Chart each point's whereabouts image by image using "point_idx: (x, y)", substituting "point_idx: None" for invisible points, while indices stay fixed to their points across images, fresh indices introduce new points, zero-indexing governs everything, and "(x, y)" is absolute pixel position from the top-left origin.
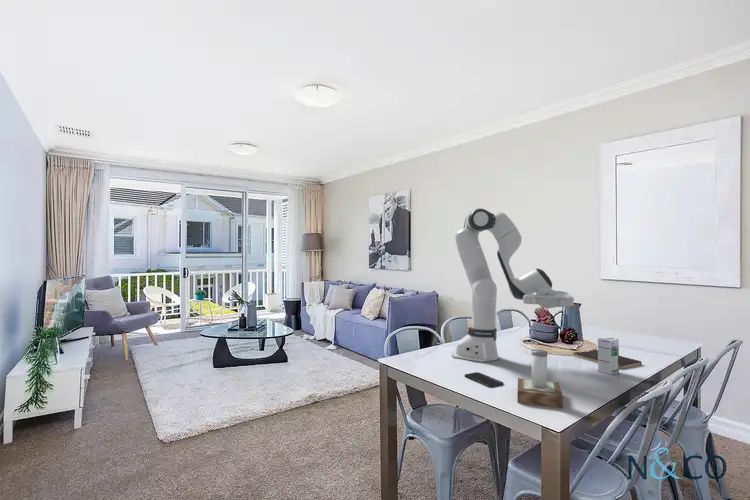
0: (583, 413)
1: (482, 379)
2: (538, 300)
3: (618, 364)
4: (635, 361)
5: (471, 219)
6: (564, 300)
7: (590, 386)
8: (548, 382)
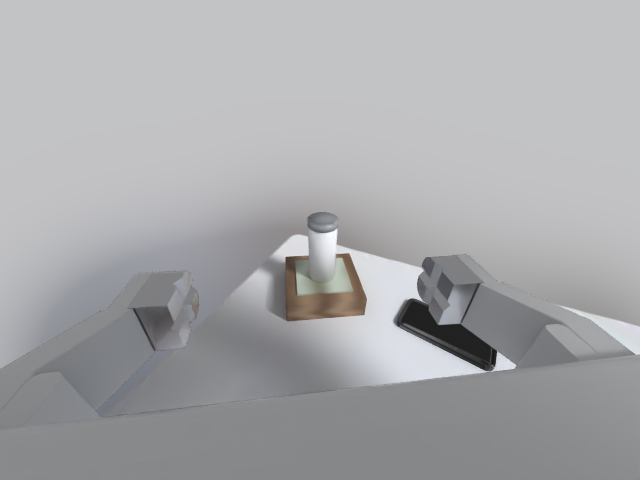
0: (260, 267)
1: (445, 325)
2: (426, 260)
3: None
4: None
5: None
6: (37, 361)
7: (195, 405)
8: (306, 291)
